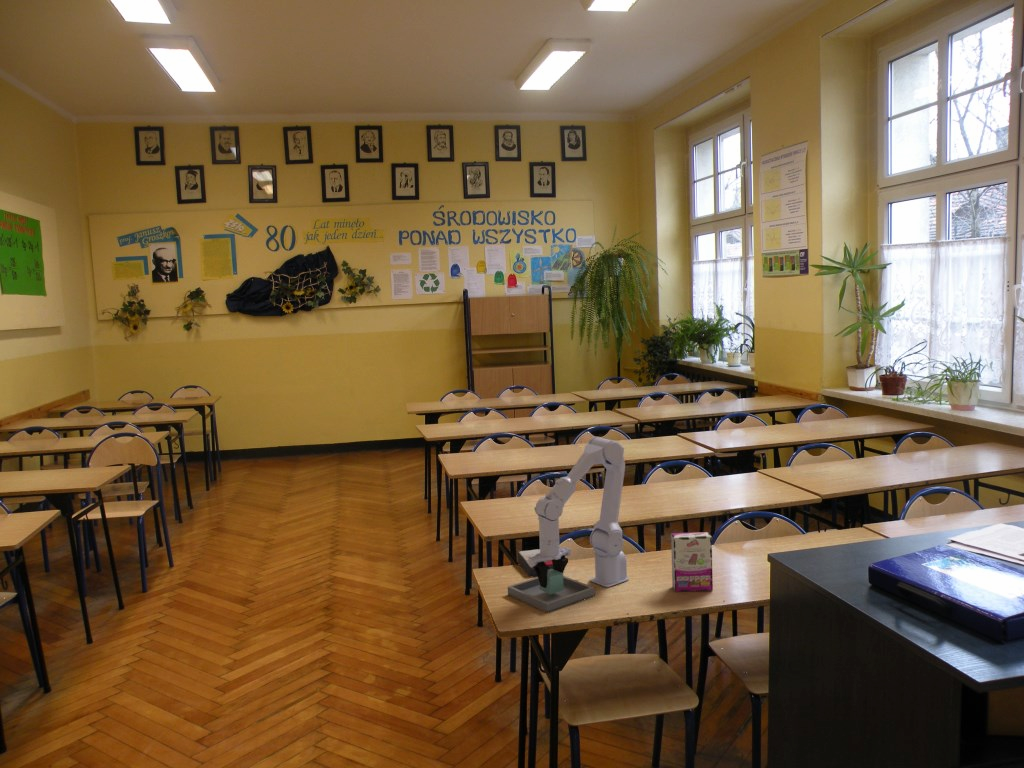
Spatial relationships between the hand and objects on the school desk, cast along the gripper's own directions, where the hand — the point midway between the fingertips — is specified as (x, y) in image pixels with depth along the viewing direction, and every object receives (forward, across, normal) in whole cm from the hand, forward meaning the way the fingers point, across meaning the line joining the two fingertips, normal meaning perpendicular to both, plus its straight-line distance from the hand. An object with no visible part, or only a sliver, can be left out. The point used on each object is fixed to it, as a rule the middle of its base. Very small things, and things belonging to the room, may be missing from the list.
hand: (550, 584), depth 223 cm
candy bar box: (+4, +34, -24) cm, 42 cm away
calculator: (+4, +13, +21) cm, 25 cm away
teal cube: (+2, 0, 0) cm, 2 cm away
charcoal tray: (+3, 0, 0) cm, 3 cm away
